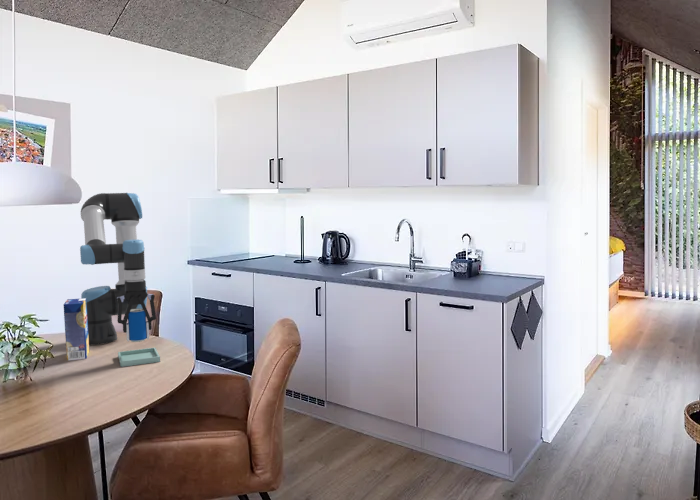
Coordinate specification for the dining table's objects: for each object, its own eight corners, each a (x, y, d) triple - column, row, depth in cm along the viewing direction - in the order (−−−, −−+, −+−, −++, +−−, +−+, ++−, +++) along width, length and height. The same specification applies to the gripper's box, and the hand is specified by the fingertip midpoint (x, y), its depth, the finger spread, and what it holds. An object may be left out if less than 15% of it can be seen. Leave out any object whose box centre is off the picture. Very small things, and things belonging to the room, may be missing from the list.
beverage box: (89, 351, 228) (86, 298, 226) (86, 358, 218) (83, 303, 216) (70, 352, 226) (67, 299, 224) (66, 360, 216) (63, 304, 213)
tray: (118, 356, 220) (117, 352, 220) (155, 352, 226) (155, 347, 226) (120, 367, 208) (120, 361, 207) (160, 361, 214) (160, 356, 214)
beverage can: (149, 338, 219) (148, 308, 218) (142, 342, 212) (140, 311, 211) (134, 338, 219) (132, 308, 218) (125, 342, 213) (124, 311, 212)
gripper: (108, 283, 206) (111, 344, 208) (163, 279, 215) (165, 338, 217) (106, 280, 213) (110, 340, 215) (160, 277, 221) (162, 334, 224)
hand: (137, 339), depth 216 cm, fingers closed on beverage can, 6 cm apart
